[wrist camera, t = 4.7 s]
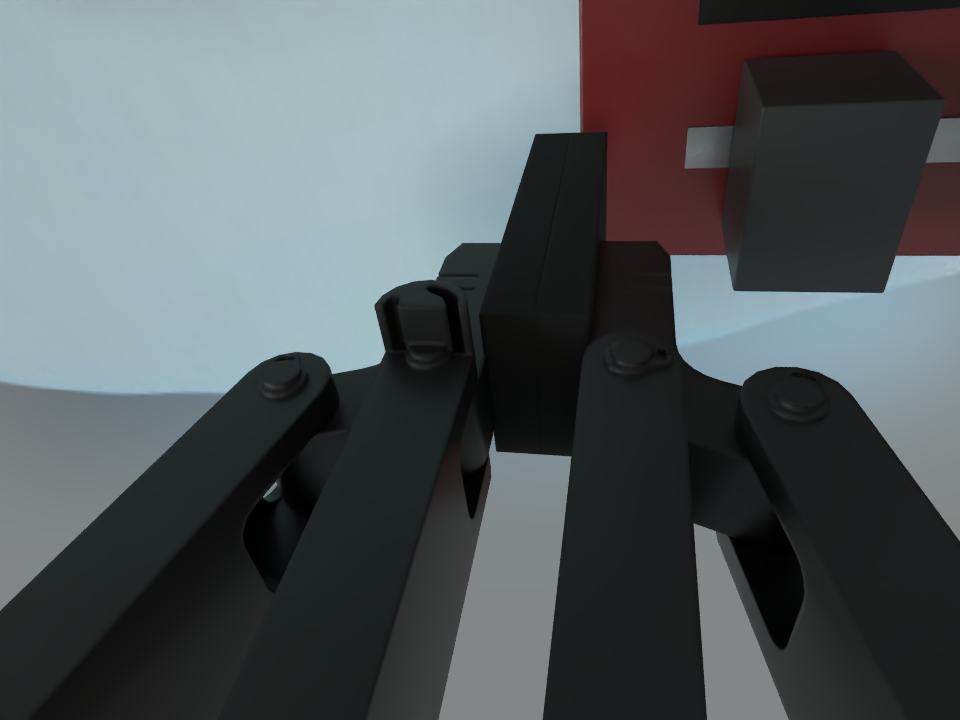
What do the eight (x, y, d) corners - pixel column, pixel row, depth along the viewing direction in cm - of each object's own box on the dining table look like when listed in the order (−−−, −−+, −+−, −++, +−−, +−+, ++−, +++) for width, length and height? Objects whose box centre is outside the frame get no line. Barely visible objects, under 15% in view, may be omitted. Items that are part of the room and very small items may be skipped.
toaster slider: (897, 49, 14) (948, 99, 11) (850, 225, 16) (884, 294, 14) (742, 58, 14) (762, 107, 12) (720, 226, 17) (733, 292, 15)
